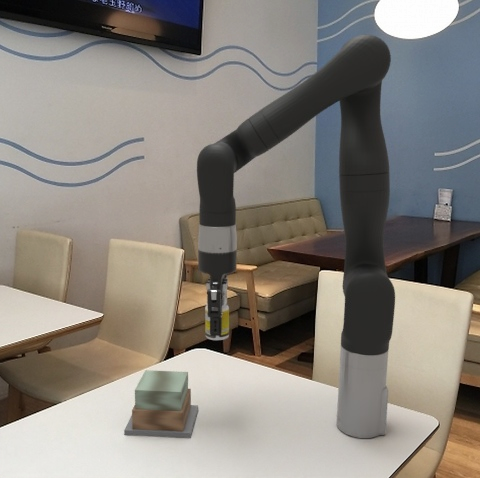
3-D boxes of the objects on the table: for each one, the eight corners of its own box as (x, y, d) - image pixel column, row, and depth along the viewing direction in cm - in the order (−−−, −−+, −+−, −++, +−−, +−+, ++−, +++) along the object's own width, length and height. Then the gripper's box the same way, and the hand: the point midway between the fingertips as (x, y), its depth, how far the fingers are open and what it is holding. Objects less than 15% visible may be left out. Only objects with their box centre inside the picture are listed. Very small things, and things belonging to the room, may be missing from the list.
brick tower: (190, 406, 115) (190, 370, 114) (183, 431, 106) (183, 393, 104) (144, 404, 116) (143, 369, 114) (132, 429, 106) (131, 391, 105)
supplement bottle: (228, 332, 112) (229, 292, 110) (229, 340, 107) (229, 299, 105) (205, 332, 112) (205, 292, 110) (204, 340, 107) (204, 299, 105)
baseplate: (198, 409, 116) (198, 405, 116) (190, 437, 105) (190, 433, 105) (138, 407, 117) (137, 402, 116) (124, 434, 106) (124, 430, 106)
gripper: (234, 255, 99) (233, 344, 102) (238, 240, 113) (238, 318, 116) (193, 254, 99) (193, 343, 102) (202, 239, 113) (203, 317, 116)
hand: (217, 329), depth 109 cm, fingers closed on supplement bottle, 4 cm apart
